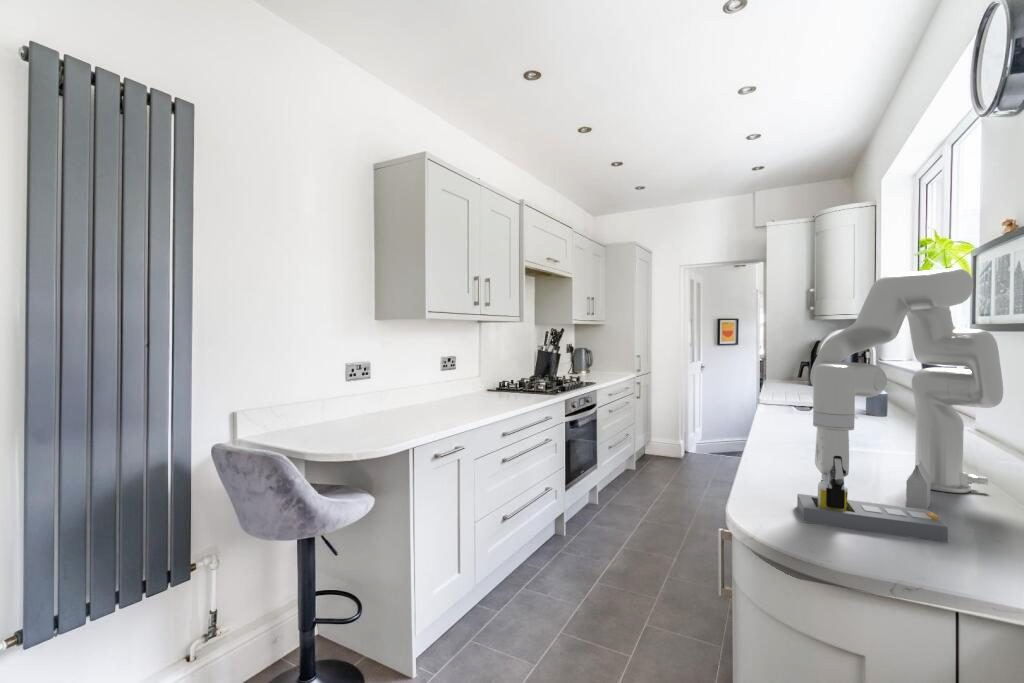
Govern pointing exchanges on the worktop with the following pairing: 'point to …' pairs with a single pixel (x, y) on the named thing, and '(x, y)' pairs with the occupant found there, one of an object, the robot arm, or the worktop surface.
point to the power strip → (875, 518)
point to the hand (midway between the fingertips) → (832, 502)
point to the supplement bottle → (822, 493)
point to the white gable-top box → (918, 488)
